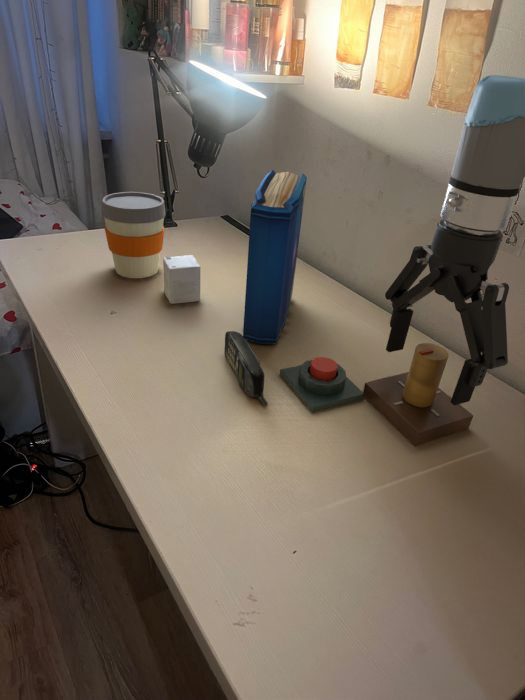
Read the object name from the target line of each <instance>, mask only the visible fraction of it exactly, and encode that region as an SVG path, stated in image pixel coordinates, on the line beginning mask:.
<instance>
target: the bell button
mask: <svg viewBox="0 0 525 700" xmlns="http://www.w3.org/2000/svg"><path fill="white" fill-rule="evenodd" d="M311 360H312V361H311V365H310V375H311V376H312V377H314V378H316V379H318V380H325V381H329V380H333V379H334V378H335V377H336V373H337V368H338V366H337V364H338V363H337V362H336V361H335V360H334V359H332V358H330V357H326V356H318V357H314V358H313V359H311Z"/></svg>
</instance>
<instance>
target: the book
mask: <svg viewBox="0 0 525 700" xmlns="http://www.w3.org/2000/svg"><path fill="white" fill-rule="evenodd" d="M307 178H308V177H307V175H305V174H304V173H302V174H299V175H297V174H294V173H292V172H290V171H283V172H276V171H275V170H274V169H272V170H270V171H268V172H267V173H266V174H265V176H264V177H263V179H261V182H260V183H259V185H258V187H257V189H256V191H255V193H254V194H255V195H254V201H253V202H251V203H250V219H249V233H248V249H247V264H246V265H247V266H246V281H245V297H244V314H243V328H242V336H243V337H244V338H245V340H246V341H248V342H252V343H255V344H258V345H274V344H277V343H278V340H279V339H280V338H281V333H282V332H281V331H282V330H283V328H284V327H285V325H286V321H287V317H288V313H289V311H290V306H291V301H292V297H293V291H294V284H295V275H296V267H297V259H298V251H299V244H300V234H301V227H302V218H303V210H304V203H305V195H306V187H307Z"/></svg>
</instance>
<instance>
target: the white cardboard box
mask: <svg viewBox="0 0 525 700" xmlns="http://www.w3.org/2000/svg"><path fill="white" fill-rule="evenodd" d="M162 264H163V266H162V268H163V269H162V270H163V292H164V295H165V296H166V298H167V300H168V302H169V303H170V304H171V305H173V304H174V305H175V304H183V303H193V302H199V301H201V265H200V263H199V262H198V261H197V260H196V258H195V256H194V255H193V254H187V255H186V254H185V255H178V256H177V255H175V256H174V255H173V256H164V257H162Z"/></svg>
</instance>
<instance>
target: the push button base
mask: <svg viewBox="0 0 525 700" xmlns="http://www.w3.org/2000/svg"><path fill="white" fill-rule="evenodd" d="M312 360H313V359H310V360H306V361H304V362H303V363H302V364H300V365H294V366H290V367H285V368H281V369H279V373H278V375H279V377H280V378H281V380H283V382H284V383H285V384H286V385H287V386H288V388H289V389H290V390H291V391H292V392H293V393H294V395H295V396H296V397H297V398H298V399H299V400H300V401H301V403H302V404H303V405H304V406H305V407H306V408H307V410H308V411H309V412H310V413H311V414H315V413H319V412H322V411H327V410H330V409H334V408H337V407H341V406H346V405H349V404H354V403H358V402H361V401H363V400H364V399H365V398H364V393H363V390H361V389H360V388H359V387H358V386H357V385H356V384H355V383H354V382H352V380H351V379H349V377H348V376H347V374H346V370H345V369H344V367H342V366H341V365H340V364H339V363H337V366H338V368H337V373H336V377H335V378H334V379H333V380H329V381H325V380H318V379H316V378H314V377H312V376H311V375H310V365H311V361H312Z"/></svg>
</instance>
